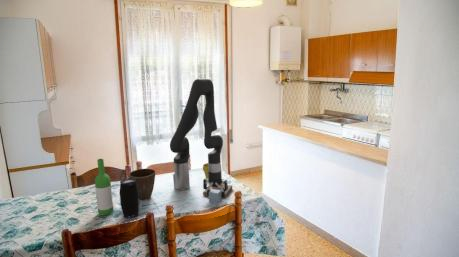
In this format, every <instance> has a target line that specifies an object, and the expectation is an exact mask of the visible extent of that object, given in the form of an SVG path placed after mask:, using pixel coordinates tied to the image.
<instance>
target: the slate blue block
mask: <svg viewBox="0 0 459 257" xmlns="http://www.w3.org/2000/svg"><path fill="white" fill-rule="evenodd" d="M221 200H222V198H221V190H215V189H212V190H211V191H210V192H209V197H208V202H211V203H219V202H220V201H221Z"/></svg>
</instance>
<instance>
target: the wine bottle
mask: <svg viewBox="0 0 459 257" xmlns="http://www.w3.org/2000/svg"><path fill="white" fill-rule="evenodd" d="M104 162H105V161H104V158H98V159H97V170H98V175H96V177H95V178H94V186H95V187H94V189H95V197H96V205H97V207H96V208H97V212H98V214H99V215H101V216H107V215H111V214H112V213H113V212H114V201H113V194H112V193H113V191H112V182H111V178H110V176H109V175H108V174H107V173H106V172H105V163H104Z"/></svg>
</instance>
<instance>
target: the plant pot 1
mask: <svg viewBox="0 0 459 257" xmlns="http://www.w3.org/2000/svg"><path fill="white" fill-rule="evenodd" d="M128 177H129V178H135V179H136V183H137V187H138V195H139V202H140V201H142V202H144V201H148V200H150V199H151V198H152V195H153V191H154V187H155V180H156V170H155V169H152V168H139V169H135V170H133V171H131V172H129V174H128Z"/></svg>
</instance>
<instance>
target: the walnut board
mask: <svg viewBox="0 0 459 257" xmlns="http://www.w3.org/2000/svg"><path fill="white" fill-rule="evenodd" d="M211 190H212V186H211V187H210V191H211ZM232 190H233V185H229V184H228V190H227V191H225V196H224V197H223V198H222V191H221V199H226V198H227V197H228V196H229V195H230V193H231V192H232ZM202 194H203V195H202V196H203V197H208V196H207V190H206V189H204V190H203V192H202Z"/></svg>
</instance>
